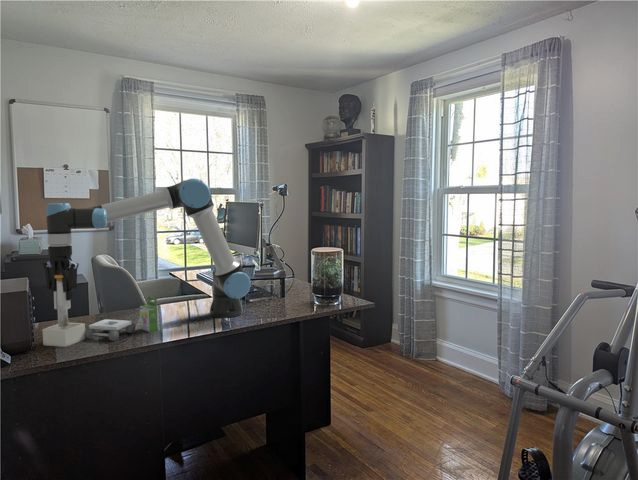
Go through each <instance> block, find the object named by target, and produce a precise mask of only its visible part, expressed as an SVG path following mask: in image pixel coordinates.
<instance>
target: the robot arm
mask: <svg viewBox="0 0 638 480" xmlns="http://www.w3.org/2000/svg"><path fill="white" fill-rule="evenodd" d="M211 195H212V194H211V188H210V187H209V185H208V184H207V183H206V182H205V181H203V180H201V179H199V178H195V177H194V178H188V179H185V180H183V181H180V182H178V183H176V184H173V185H169V186H166V187H164V189H163V190H159V191H154V192H151V193H146V194H143V195H137V196H133V197H129V198H125V199H121V200H118V201H117V200H116V201H113V202H109V203H103V204H101V205H96V206H91V207H85V208H84V207H83V208H75V207H74V208H72V207H71V204H70V203H69V202H50V203H47V205H46V228H47V229H46V230H47V231H46V232H47V233H46V234H47V245H48V247H47V249H48V250H47V253H48V257H49V260H48V261H47V262H46V261H45V262H43V263H42V266H43V268H44V273H45V281H46V289H47V290H50V291H51V293H52V300H53V305H54V307H53V309H54V310H58V308H57V285H56V279H55V278H54V275H57V274H62V275H63V278H62V279H63V284H64V290H65V291H63V310H66V309H68V310H69V309H71V305H72V304H71V300H72V298H73V295H72V294H73V293H72V292H73V291H75V290H76V289H78V288H77V287H78V286H77V285H78V283H77V281H78V269H79V266H80V264H79V263H78V262H76V263H75V262H74V261H73V260H72V255H73V246H72V242H73V241H72V229H74V230H75V229H95V230H97V229H105V228H106V227H108V223H112V222H117V221H121V220H125V219H128V218H132V217H136V216H140V215H144V214H147V213H152V212H157V211H161V210H163V209H165V210H166V209H171V210H174V209H178V208H179V209H180V208H183V209H184V211H185V213H186V216H187V217H189V218H192V219H193V222H194V224H195V226H196V228H197V230H198V232H199V235H200V236H201V238H202V241H203V244H204V245H205V248H206V249H207V252H208V254H209V256H210V258H211V260H212V262H213V264H214V266H213V267H212V274H211V275H212V289H213V290H212V294H213V298H212V300H211V301H212V302H211V304H210V308H209V315H210V317H212V318H223V319H224V318H235V317H238V316H241V315H242V314H243V313H244V311H243V310H244V308H243V304H242V302H241V300H240V299H242V298H243V297H245V296H246V295H247V294H248V293H249V292H250V289H251V285H252V284H251V281H252V280H251V279H250V277H249V275H248V274H247V273H245V271H244V268H243V266H242V264H241V262H240V261H237V260H236V259H235V258H234V256H233V253H232V251H231V248H230V247H229V244H228V242H227V239H226V238H225V236H224V233H223V231H222V229H221V226H220V224H219V222H218V220H217V218H216V215H215V213H214V211H213V208H214V207H215V204H214V203H213V200H212V197H211Z"/></svg>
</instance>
